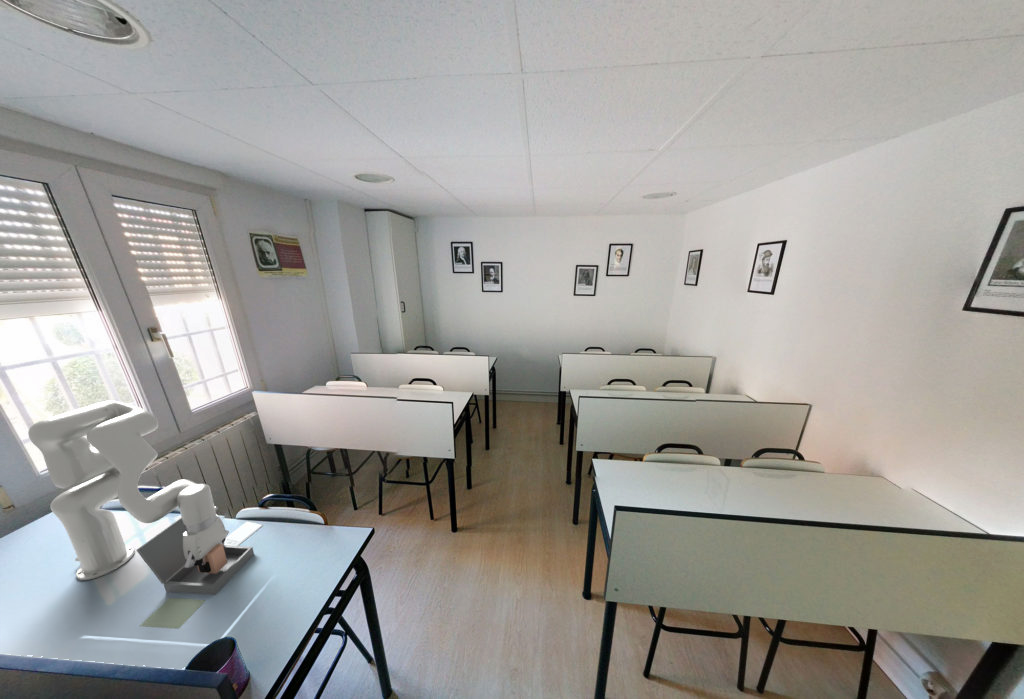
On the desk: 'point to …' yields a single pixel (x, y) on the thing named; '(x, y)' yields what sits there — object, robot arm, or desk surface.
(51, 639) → the desk surface
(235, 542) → the external hard drive
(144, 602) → the desk surface
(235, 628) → the desk surface
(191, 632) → the desk surface
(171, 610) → the olive mat
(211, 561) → the block
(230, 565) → the equipment case
